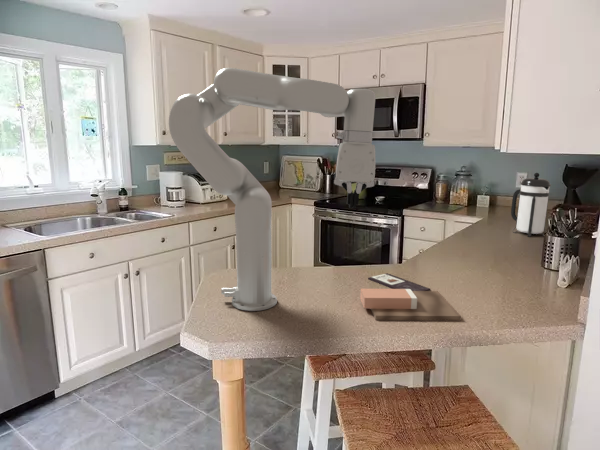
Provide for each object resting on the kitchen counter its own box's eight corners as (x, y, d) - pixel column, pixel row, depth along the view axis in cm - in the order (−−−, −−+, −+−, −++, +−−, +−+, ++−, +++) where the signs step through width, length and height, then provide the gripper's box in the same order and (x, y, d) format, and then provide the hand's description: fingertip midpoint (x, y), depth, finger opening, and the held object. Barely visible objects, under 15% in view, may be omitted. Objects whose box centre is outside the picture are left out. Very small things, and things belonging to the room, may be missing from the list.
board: (375, 319, 110) (375, 315, 110) (364, 294, 128) (364, 290, 127) (460, 320, 110) (461, 316, 110) (437, 294, 128) (437, 291, 128)
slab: (364, 297, 114) (417, 298, 114) (360, 288, 120) (410, 289, 121) (364, 308, 114) (416, 308, 114) (360, 298, 121) (409, 299, 121)
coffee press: (547, 232, 214) (555, 172, 207) (545, 239, 200) (554, 174, 194) (509, 228, 223) (516, 170, 216) (505, 234, 209) (512, 172, 203)
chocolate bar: (410, 294, 127) (368, 277, 141) (410, 297, 127) (367, 280, 141) (430, 288, 132) (387, 273, 146) (430, 291, 132) (387, 275, 146)
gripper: (329, 137, 109) (325, 208, 112) (388, 140, 108) (382, 211, 112) (328, 136, 116) (324, 203, 120) (383, 139, 116) (377, 206, 120)
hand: (352, 207), depth 116 cm, fingers closed
